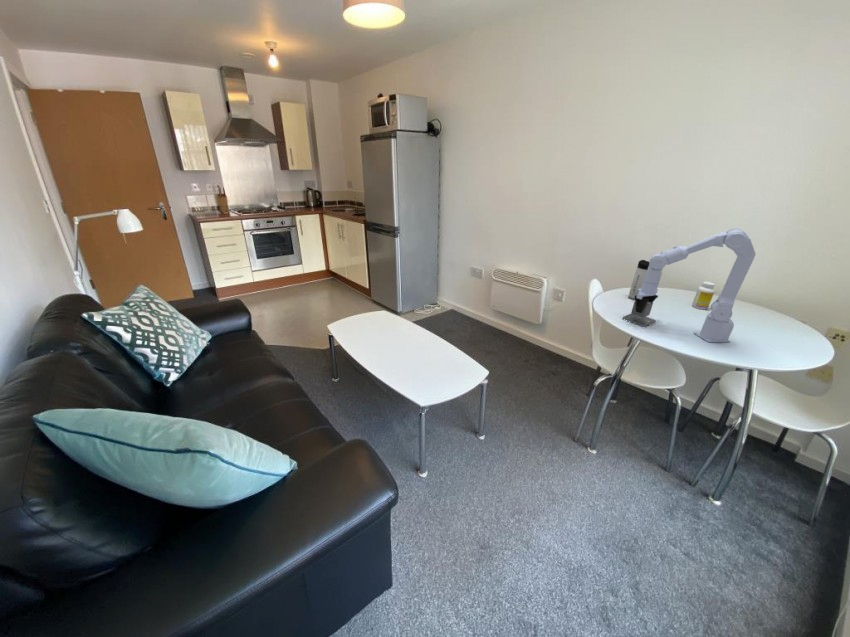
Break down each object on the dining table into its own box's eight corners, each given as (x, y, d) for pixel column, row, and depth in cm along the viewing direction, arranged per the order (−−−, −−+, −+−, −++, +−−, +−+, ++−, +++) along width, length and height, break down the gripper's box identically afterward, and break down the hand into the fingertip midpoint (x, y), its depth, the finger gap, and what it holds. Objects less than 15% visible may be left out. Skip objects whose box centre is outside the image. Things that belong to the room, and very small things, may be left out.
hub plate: (633, 314, 166) (635, 305, 164) (655, 322, 159) (658, 313, 157) (622, 318, 161) (624, 309, 159) (644, 327, 154) (647, 318, 152)
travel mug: (637, 296, 189) (649, 260, 180) (643, 301, 183) (655, 263, 174) (625, 295, 189) (636, 259, 181) (631, 300, 183) (642, 262, 175)
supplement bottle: (710, 310, 175) (720, 285, 169) (697, 309, 175) (707, 285, 169) (701, 304, 181) (710, 281, 175) (688, 304, 181) (697, 280, 175)
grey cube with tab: (637, 310, 162) (641, 298, 160) (649, 315, 158) (653, 301, 156) (630, 313, 160) (634, 300, 157) (643, 317, 156) (647, 304, 153)
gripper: (649, 276, 159) (640, 304, 165) (633, 282, 151) (624, 310, 157) (666, 281, 154) (656, 309, 160) (650, 286, 146) (640, 316, 152)
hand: (641, 310), depth 158 cm, fingers closed on grey cube with tab, 5 cm apart
